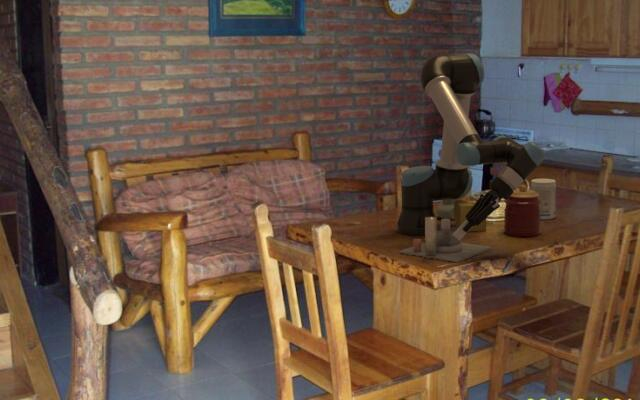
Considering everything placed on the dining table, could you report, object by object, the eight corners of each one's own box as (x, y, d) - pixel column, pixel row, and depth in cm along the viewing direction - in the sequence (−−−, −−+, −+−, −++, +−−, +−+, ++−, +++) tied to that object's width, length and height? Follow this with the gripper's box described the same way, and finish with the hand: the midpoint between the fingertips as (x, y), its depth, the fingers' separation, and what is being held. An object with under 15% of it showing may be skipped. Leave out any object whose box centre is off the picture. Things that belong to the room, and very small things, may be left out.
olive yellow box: (481, 225, 332) (481, 199, 331) (487, 231, 322) (487, 204, 320) (453, 226, 332) (453, 200, 330) (458, 232, 322) (459, 205, 320)
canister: (527, 227, 326) (528, 180, 323) (548, 234, 314) (549, 186, 311) (496, 231, 322) (497, 183, 318) (516, 238, 310) (517, 189, 307)
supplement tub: (540, 214, 350) (541, 177, 348) (560, 217, 343) (561, 180, 340) (525, 217, 344) (525, 180, 342) (545, 221, 337) (546, 183, 334)
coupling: (440, 243, 299) (440, 209, 297) (461, 246, 294) (462, 211, 292) (417, 253, 286) (417, 217, 284) (439, 256, 282) (439, 219, 280)
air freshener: (453, 215, 352) (453, 190, 351) (467, 218, 346) (467, 193, 344) (432, 218, 347) (432, 193, 345) (446, 221, 340) (446, 196, 338)
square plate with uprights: (399, 253, 292) (399, 221, 290) (435, 240, 309) (435, 210, 307) (456, 263, 278) (457, 229, 276) (491, 249, 295) (491, 217, 293)
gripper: (521, 194, 278) (470, 249, 278) (506, 188, 290) (457, 240, 291) (505, 178, 276) (454, 234, 276) (490, 172, 289) (441, 226, 289)
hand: (455, 237), depth 284 cm, fingers closed
